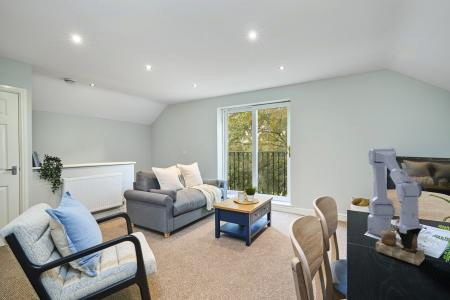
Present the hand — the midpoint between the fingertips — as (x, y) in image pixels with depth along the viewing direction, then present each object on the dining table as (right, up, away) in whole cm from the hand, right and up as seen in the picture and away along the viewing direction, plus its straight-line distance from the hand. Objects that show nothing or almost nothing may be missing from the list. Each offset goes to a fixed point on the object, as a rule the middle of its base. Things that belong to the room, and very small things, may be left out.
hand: (409, 246), depth 83 cm
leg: (0, -3, 0) cm, 3 cm away
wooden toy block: (-2, -5, +3) cm, 6 cm away
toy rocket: (+17, -4, +39) cm, 43 cm away
